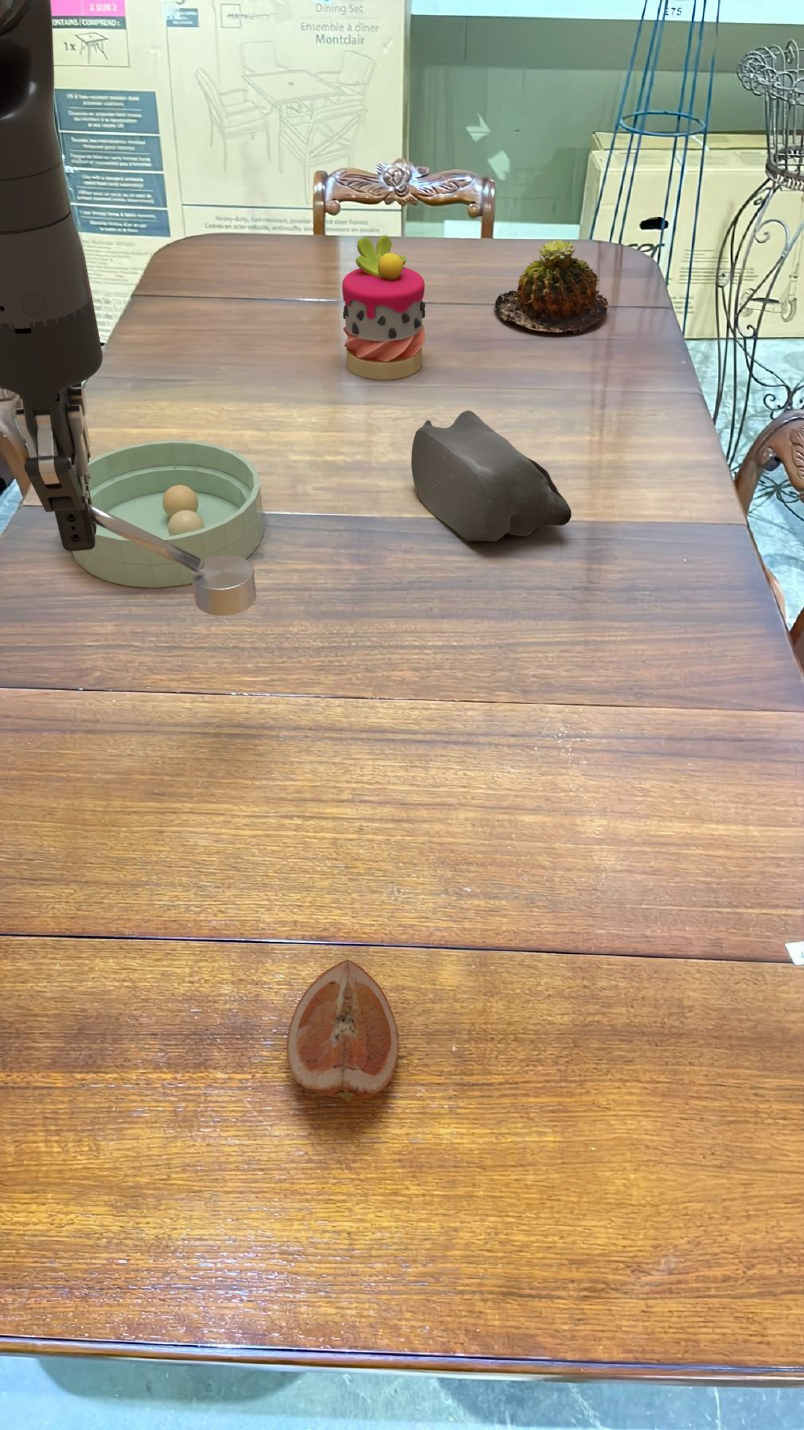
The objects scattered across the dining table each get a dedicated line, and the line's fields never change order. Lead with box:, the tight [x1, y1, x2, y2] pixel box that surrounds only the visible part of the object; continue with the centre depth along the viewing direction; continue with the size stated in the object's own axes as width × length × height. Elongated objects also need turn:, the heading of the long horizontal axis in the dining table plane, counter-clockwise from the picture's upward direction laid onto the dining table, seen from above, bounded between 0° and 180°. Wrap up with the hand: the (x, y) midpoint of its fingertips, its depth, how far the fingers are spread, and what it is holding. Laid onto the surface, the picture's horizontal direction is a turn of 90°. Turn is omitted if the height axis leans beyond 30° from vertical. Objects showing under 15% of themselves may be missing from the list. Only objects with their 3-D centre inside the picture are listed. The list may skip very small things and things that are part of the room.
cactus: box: [494, 238, 610, 335], centre depth 150 cm, size 17×16×10 cm
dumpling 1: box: [162, 485, 199, 518], centre depth 110 cm, size 4×4×4 cm
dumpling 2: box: [168, 510, 205, 536], centre depth 106 cm, size 4×4×4 cm
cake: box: [341, 234, 426, 381], centre depth 136 cm, size 10×10×15 cm
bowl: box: [71, 439, 265, 589], centre depth 107 cm, size 19×19×6 cm
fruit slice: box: [286, 959, 400, 1102], centre depth 64 cm, size 8×7×5 cm
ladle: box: [88, 503, 257, 617], centre depth 77 cm, size 14×5×10 cm, turn 99°
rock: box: [410, 410, 572, 542], centre depth 111 cm, size 18×11×8 cm, turn 29°
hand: (80, 540), depth 76 cm, fingers closed on ladle, 1 cm apart
